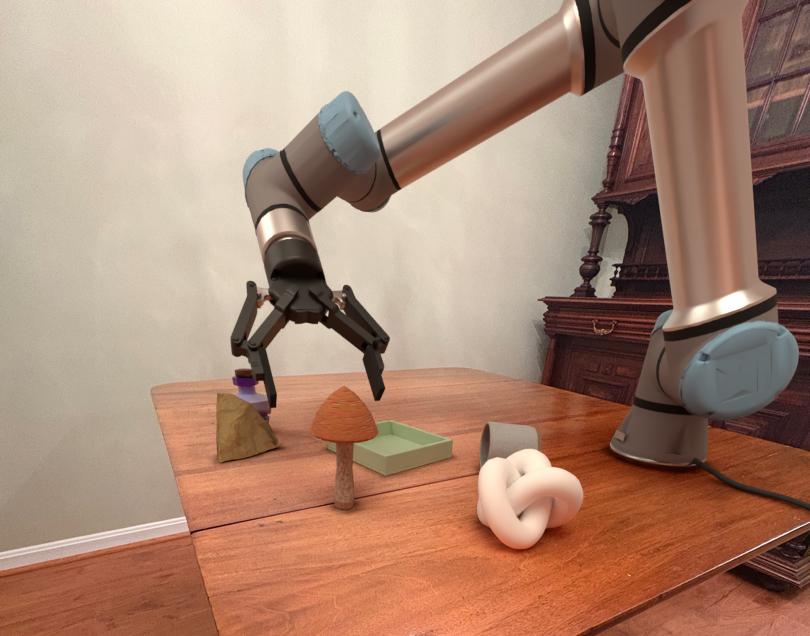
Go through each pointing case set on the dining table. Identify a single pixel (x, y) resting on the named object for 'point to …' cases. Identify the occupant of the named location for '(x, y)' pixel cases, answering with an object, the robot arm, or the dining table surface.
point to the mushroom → (344, 436)
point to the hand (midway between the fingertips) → (329, 398)
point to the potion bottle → (251, 392)
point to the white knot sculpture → (525, 497)
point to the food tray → (399, 448)
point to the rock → (241, 429)
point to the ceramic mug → (506, 440)
